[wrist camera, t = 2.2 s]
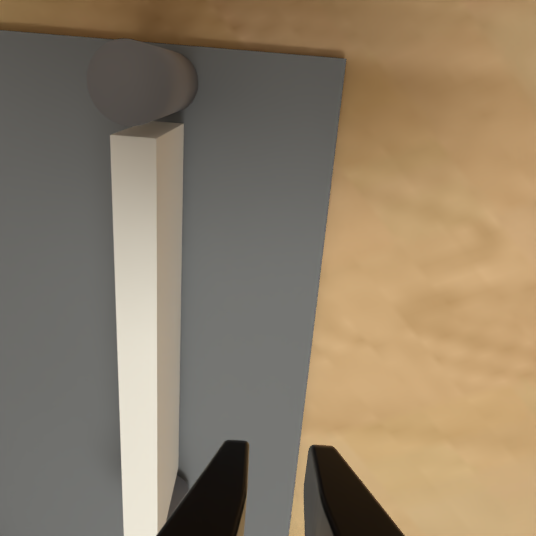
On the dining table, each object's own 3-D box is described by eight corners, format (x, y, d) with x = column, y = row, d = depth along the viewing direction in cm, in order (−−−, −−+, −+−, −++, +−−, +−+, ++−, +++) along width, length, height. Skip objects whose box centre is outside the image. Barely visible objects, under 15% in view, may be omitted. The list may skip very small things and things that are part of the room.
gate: (188, 510, 24) (168, 622, 19) (141, 507, 24) (109, 619, 19) (198, 124, 17) (172, 142, 13) (134, 119, 17) (84, 135, 13)
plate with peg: (286, 546, 26) (291, 675, 20) (-176, 521, 25) (-302, 647, 19) (344, 59, 17) (380, 50, 12) (-337, 2, 17) (-633, -34, 11)
